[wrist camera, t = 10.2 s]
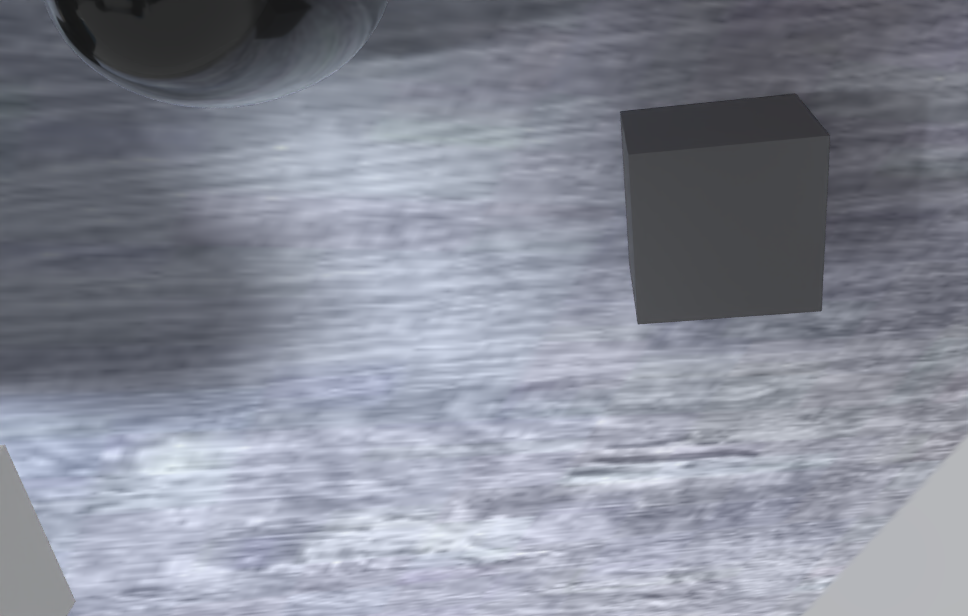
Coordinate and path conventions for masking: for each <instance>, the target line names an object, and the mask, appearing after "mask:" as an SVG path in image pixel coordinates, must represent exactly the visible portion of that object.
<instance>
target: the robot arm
mask: <svg viewBox="0 0 968 616" xmlns="http://www.w3.org/2000/svg"><path fill="white" fill-rule="evenodd" d="M75 602H76V601H75V599H74V597H73V595H72V592H71V590H70V588H69V586H68V584H67V581H66V579H65V577H64V575H63V572H62V570H61V568H60V566H59V564H58V561H57V559H56V557H55V555H54V553H53V550H52V548H51V546H50V544H49V541H48V539H47V537H46V535H45V533H44V530H43V528H42V526H41V524H40V522H39V519H38V517H37V515H36V513H35V510H34V508H33V506H32V504H31V502H30V499H29V497H28V495H27V493H26V491H25V488H24V486H23V484H22V482H21V479H20V477H19V475H18V473H17V471H16V468H15V466H14V464H13V462H12V460H11V457H10V455H9V453H8V451H7V448H6V446H5V445H0V616H67V615H68V613H69V611H70V610H71V608H72V607H73V605H74V603H75Z"/></svg>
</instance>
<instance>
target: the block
mask: <svg viewBox="0 0 968 616" xmlns="http://www.w3.org/2000/svg"><path fill="white" fill-rule="evenodd" d="M620 115H621V132H622V149H623V165H624V182H625V199H626V216H627V233H628V250H629V265H630V272H631V280H632V287H633V294H634V301H635V308H636V315H637V322H638V324H649V323H663V322H677V321H691V320H704V319H718V318H732V317H746V316H760V315H774V314H788V313H802V312H816V311H822V291H823V270H824V249H825V229H826V208H827V187H828V166H829V145H830V135H829V134H828V133H827V131H826V130H825V129H824V128H823V127H822V125H821V124H820V123H819V122H818V120H817V119H816V118H815V117H814V116H813V114H812V113H811V112H810V111H809V110H808V108H807V107H806V106H805V105H804V104H803V102H802V101H801V100H800V99H799V97H798V96H797V95H796V94H789V95H780V96H770V97H760V98H750V99H740V100H730V101H720V102H710V103H701V104H691V105H681V106H671V107H661V108H651V109H641V110H632V111H622V112H620Z"/></svg>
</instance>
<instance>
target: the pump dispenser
mask: <svg viewBox="0 0 968 616" xmlns="http://www.w3.org/2000/svg"><path fill="white" fill-rule="evenodd" d="M387 2H388V0H44V3H45V6H46V8H47V11H48V13H49V15H50V17H51V19H52V21H53V23H54V25H55V27H56V28H57V30H58V32H59V33H60V35H61V36H62V37H63V39H64V40H65V42H66V43H67V44H68V45H69V47H70V48H71V49H72V50H73V51H74V52H75V53H76V54H77V55H78V56H79V57H80V58H81V59H82V60H83V61H84V62H85V63H86V64H87V65H88V66H90V67H91V68H92V69H93V70H95V71H96V72H97V73H99V74H100V75H102V76H103V77H105V78H106V79H108V80H109V81H111V82H113V83H114V84H116V85H118V86H120V87H122V88H124V89H126V90H129V91H131V92H133V93H136V94H138V95H141V96H144V97H147V98H150V99H153V100H156V101H160V102H164V103H169V104H173V105H179V106H186V107H195V108H232V107H242V106H249V105H255V104H260V103H264V102H268V101H272V100H275V99H279V98H282V97H285V96H288V95H290V94H293V93H296V92H298V91H300V90H303V89H305V88H307V87H310V86H312V85H314V84H316V83H318V82H320V81H322V80H323V79H325V78H327V77H328V76H330V75H331V74H333V73H334V72H336V71H337V70H338V69H340V68H341V67H342V66H344V65H345V64H346V63H347V62H348V61H349V60H350V59H351V58H352V57H353V56H354V55H355V54H356V53H357V52H358V51H359V50H360V49H361V48H362V47H363V45H364V44H365V43H366V42H367V40H368V39H369V38H370V36H371V35H372V33H373V32H374V30H375V28H376V27H377V25H378V23H379V21H380V19H381V17H382V15H383V13H384V10H385V8H386V5H387Z"/></svg>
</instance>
